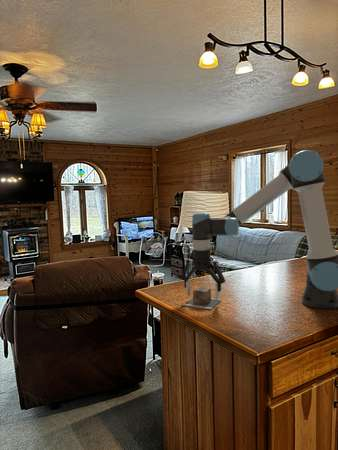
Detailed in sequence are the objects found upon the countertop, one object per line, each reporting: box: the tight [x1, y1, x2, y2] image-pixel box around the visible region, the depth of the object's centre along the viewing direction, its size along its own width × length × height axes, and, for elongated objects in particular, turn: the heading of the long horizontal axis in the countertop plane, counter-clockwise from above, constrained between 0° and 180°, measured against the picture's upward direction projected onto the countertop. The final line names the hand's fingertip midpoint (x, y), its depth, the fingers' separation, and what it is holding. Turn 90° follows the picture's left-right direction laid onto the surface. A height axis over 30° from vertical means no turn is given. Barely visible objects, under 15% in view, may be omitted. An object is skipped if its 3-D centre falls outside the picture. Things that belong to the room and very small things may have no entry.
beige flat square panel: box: [215, 306, 229, 311], centre depth 143 cm, size 9×9×1 cm
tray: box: [182, 297, 222, 311], centre depth 148 cm, size 13×13×1 cm
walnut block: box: [192, 286, 212, 305], centre depth 147 cm, size 6×6×6 cm
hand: (202, 297), depth 147 cm, fingers open, 13 cm apart
